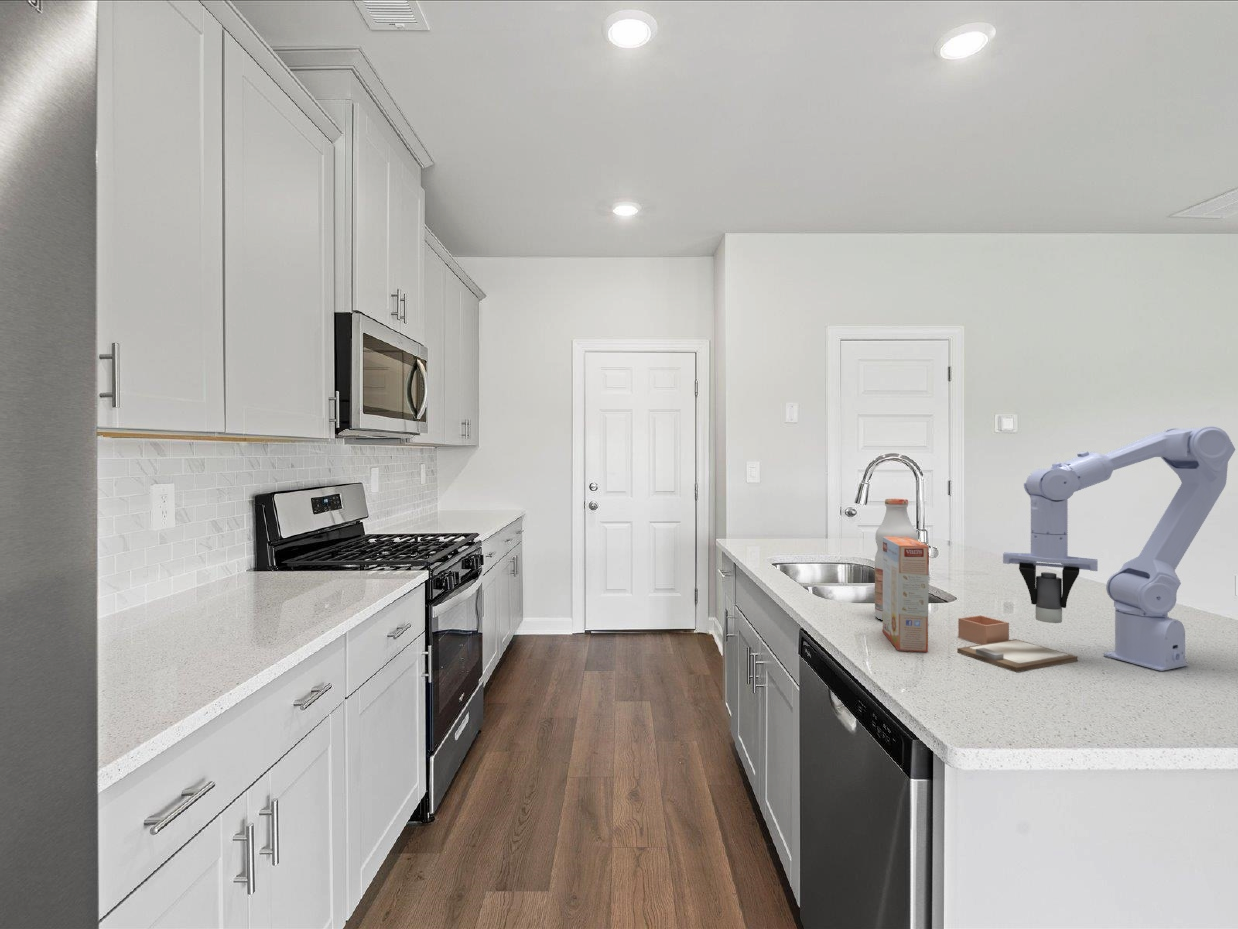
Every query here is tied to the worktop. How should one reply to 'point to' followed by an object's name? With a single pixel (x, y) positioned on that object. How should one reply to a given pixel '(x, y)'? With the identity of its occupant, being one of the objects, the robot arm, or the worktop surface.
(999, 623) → the terracotta open box
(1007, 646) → the clipboard
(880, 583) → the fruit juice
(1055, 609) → the grey lidded canister
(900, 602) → the cracker box
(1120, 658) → the robot arm
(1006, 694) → the worktop surface
